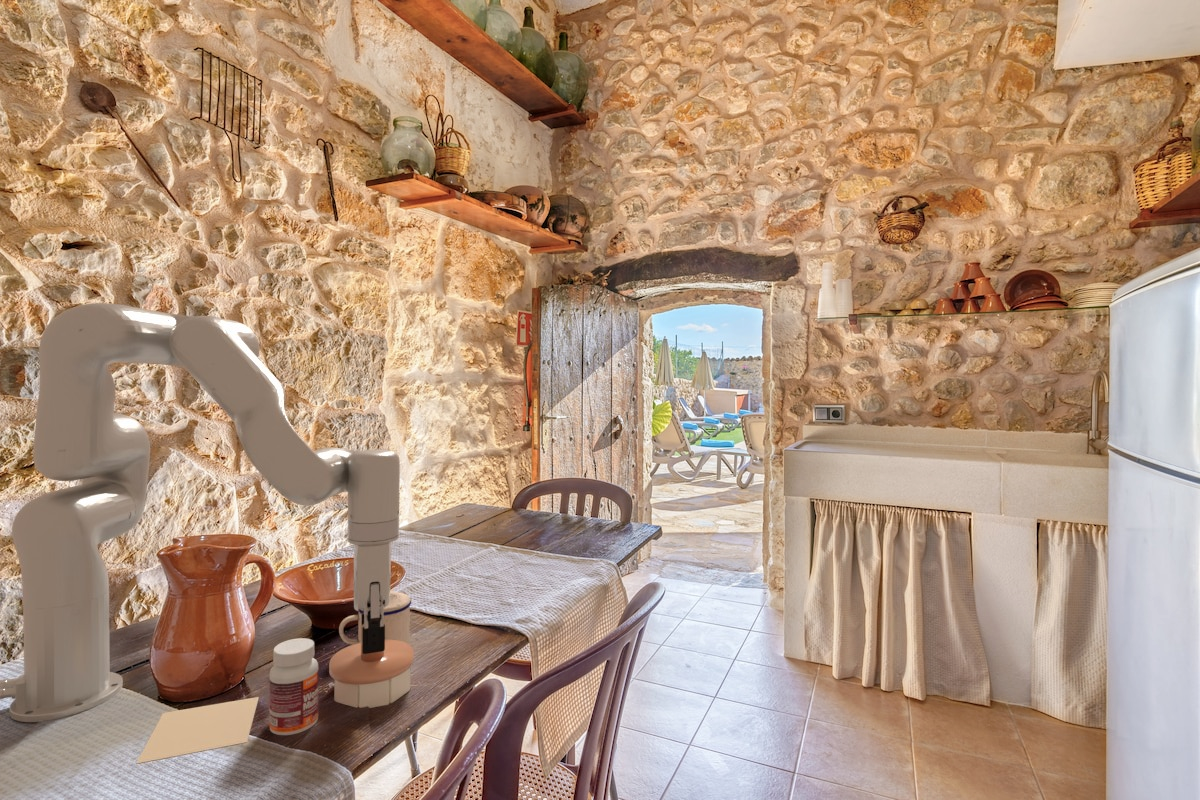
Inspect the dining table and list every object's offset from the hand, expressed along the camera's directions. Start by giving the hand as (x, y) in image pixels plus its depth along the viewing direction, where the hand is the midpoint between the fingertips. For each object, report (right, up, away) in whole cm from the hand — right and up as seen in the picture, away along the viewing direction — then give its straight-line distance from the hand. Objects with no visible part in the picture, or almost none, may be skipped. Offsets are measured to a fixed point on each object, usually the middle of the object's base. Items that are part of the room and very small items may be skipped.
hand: (372, 643), depth 93 cm
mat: (-19, -7, -11) cm, 23 cm away
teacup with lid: (-4, -7, +13) cm, 15 cm away
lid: (0, -3, 0) cm, 3 cm away
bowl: (0, -7, 0) cm, 7 cm away
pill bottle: (-7, -8, -10) cm, 14 cm away
